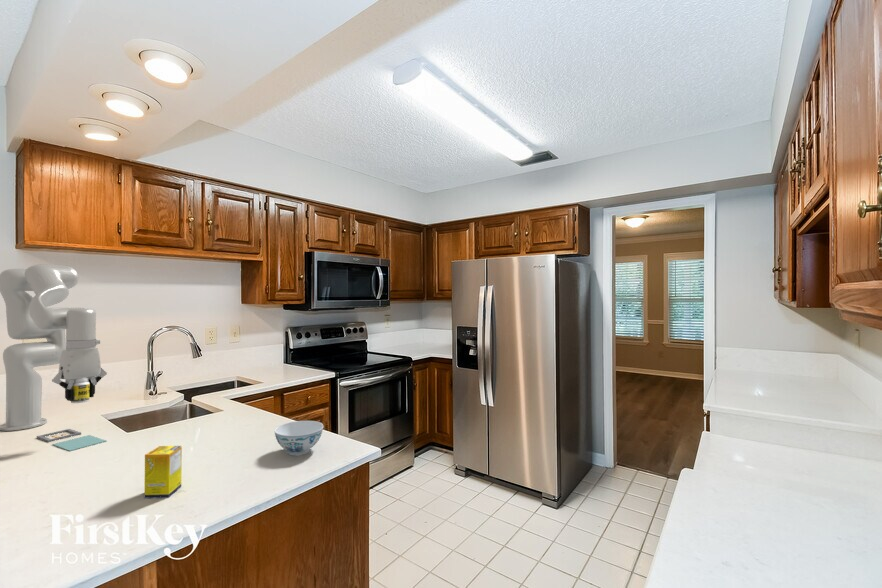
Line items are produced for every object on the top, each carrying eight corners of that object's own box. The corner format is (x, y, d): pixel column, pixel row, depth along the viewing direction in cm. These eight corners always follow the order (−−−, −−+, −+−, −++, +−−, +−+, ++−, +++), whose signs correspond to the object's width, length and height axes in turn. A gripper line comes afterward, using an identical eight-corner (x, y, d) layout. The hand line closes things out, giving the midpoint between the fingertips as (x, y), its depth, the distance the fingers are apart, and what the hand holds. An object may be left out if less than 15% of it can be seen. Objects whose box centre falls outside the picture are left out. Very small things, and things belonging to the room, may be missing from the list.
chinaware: (332, 446, 135) (332, 423, 135) (303, 463, 121) (303, 438, 121) (295, 440, 140) (295, 418, 140) (263, 456, 126) (263, 432, 126)
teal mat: (52, 445, 135) (52, 444, 135) (89, 435, 144) (89, 435, 144) (69, 451, 129) (69, 450, 129) (106, 441, 138) (106, 440, 138)
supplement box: (158, 487, 106) (158, 445, 106) (182, 486, 106) (182, 445, 106) (143, 498, 100) (143, 454, 100) (168, 497, 100) (169, 453, 100)
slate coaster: (36, 437, 141) (36, 436, 141) (69, 430, 149) (69, 428, 149) (48, 442, 137) (48, 440, 137) (81, 434, 145) (81, 432, 145)
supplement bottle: (78, 404, 134) (78, 378, 134) (66, 403, 135) (67, 378, 135) (93, 400, 139) (93, 375, 139) (82, 399, 140) (82, 375, 140)
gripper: (105, 341, 146) (104, 392, 146) (42, 347, 131) (41, 403, 131) (116, 343, 143) (115, 394, 143) (53, 348, 128) (52, 406, 127)
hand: (80, 398), depth 137 cm, fingers closed on supplement bottle, 4 cm apart
